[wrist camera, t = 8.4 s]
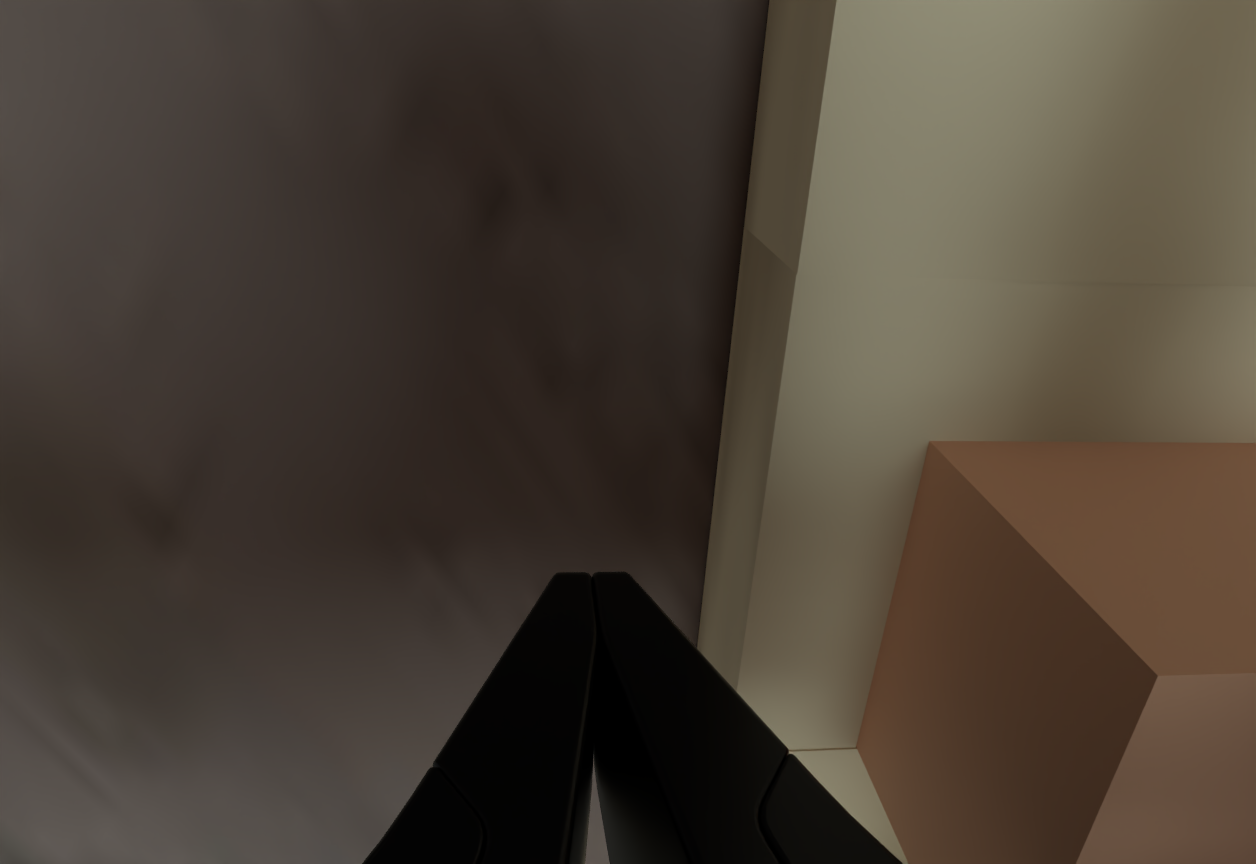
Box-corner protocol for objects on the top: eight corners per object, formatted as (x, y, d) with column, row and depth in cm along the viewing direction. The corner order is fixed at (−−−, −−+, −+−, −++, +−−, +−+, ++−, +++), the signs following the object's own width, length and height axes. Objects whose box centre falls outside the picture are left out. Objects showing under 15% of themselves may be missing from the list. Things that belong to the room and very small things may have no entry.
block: (1304, 443, 10) (1718, 660, 7) (1169, 734, 12) (1426, 1017, 9) (929, 441, 10) (1158, 676, 6) (855, 746, 12) (993, 1052, 8)
